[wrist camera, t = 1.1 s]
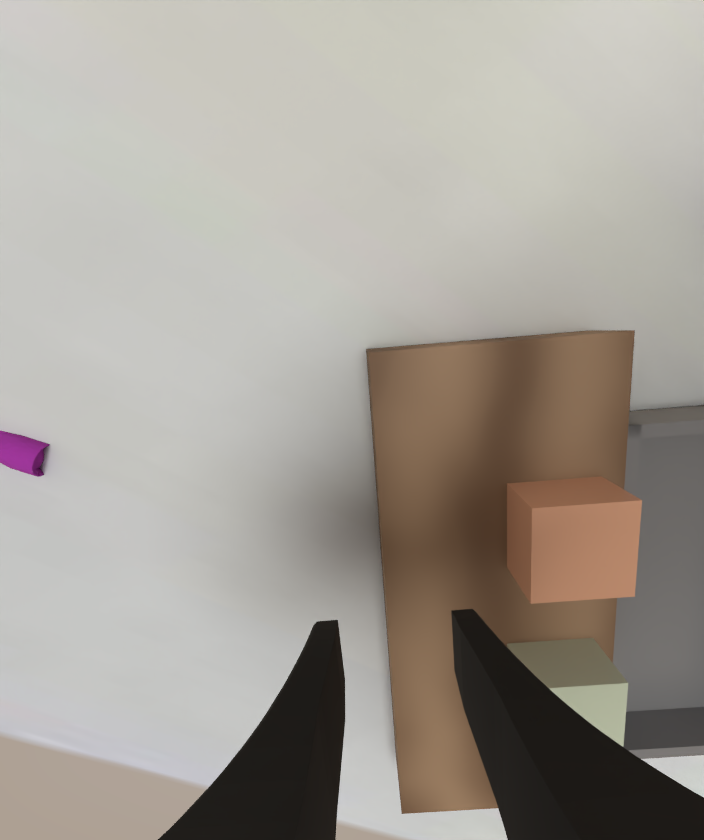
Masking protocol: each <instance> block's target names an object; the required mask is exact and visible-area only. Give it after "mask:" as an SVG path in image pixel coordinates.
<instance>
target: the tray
mask: <svg viewBox="0 0 704 840" xmlns="http://www.w3.org/2000/svg"><path fill="white" fill-rule="evenodd" d="M624 490H626V491H627V492H629V493H631V494H632V495H634V496H636V497H637V498H639V499H641V500H642V509H641V522H640V535H639V548H638V561H637V574H636V588H635V597H622V598H617V607H616V623H615V638H614V653H613V664H614V665H615V667H616V668H617V669H618V671H619V672H620V673H621V674H622V676H623V677H624V678H625V679H626V681H627V682H628V693H627V706H626V719H625V733H624V746H623V747H624V748H625V749H627V750H628V751H630V752H631V753H632V754H634V755H635V756H637V757H638V758H640V759H645V758H662V757H678V756H695V755H704V405H701V406H688V407H675V408H663V409H650V410H637V411H629V424H628V439H627V454H626V470H625V485H624Z"/></svg>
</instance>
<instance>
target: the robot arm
mask: <svg viewBox="0 0 704 840" xmlns="http://www.w3.org/2000/svg"><path fill="white" fill-rule="evenodd" d="M451 615H452V634H453V653H454V671H455V675H456V679H457V683H458V687H459V692H460V696H461V700H462V704H463V708H464V711H465V714H466V717H467V720H468V723H469V725H470V728H471V731H472V734H473V737H474V740H475V743H476V746H477V748H478V751H479V754H480V757H481V760H482V763H483V765H484V768H485V771H486V774H487V777H488V780H489V782H490V785H491V788H492V791H493V794H494V797H495V799H496V802H497V805H498V808H499V812H500V815H501V818H502V821H503V824H504V827H505V831H506V835H507V838H508V840H704V798H703V797H702V796H700V795H698V794H696V793H694V792H693V791H691V790H689V789H687V788H686V787H684V786H683V785H681V784H679V783H678V782H676V781H674V780H673V779H671V778H670V777H668V776H666V775H665V774H663V773H662V772H660V771H658V770H657V769H655V768H653V767H652V766H650V765H649V764H647V763H646V762H644V761H643V760H641V759H640V758H638V757H637V756H635V755H634V754H632V753H631V752H630V751H628V750H627V749H625V748H624V747H622V746H621V745H620V744H618V743H617V742H615V741H614V740H612V739H611V738H610V737H608V736H607V735H605V734H604V733H603V732H601V731H600V730H599V729H597V728H596V727H595V726H593V725H592V724H591V723H589V722H588V721H587V720H585V719H584V718H583V717H582V716H581V715H579V714H578V713H577V712H576V711H574V710H573V709H572V708H571V707H570V706H568V705H567V704H566V703H565V702H564V701H562V700H561V699H560V698H559V697H558V696H557V695H556V694H555V693H553V692H552V691H551V690H550V689H549V688H548V687H547V686H546V685H545V684H544V683H543V682H541V681H540V680H539V679H538V678H537V677H536V676H535V675H534V674H533V673H532V672H531V671H530V670H529V669H528V668H527V667H526V666H525V665H524V664H523V663H522V662H521V661H520V660H519V659H518V658H517V657H516V656H515V655H514V654H513V653H512V652H511V651H510V650H509V649H508V648H507V647H506V645H505V644H504V643H503V642H502V641H501V640H500V639H499V638H498V637H497V636H496V634H495V633H494V632H493V631H492V630H491V629H490V628H489V626H488V625H487V624H486V623H485V622H484V621H483V619H482V618H481V617H480V616H479V615H478V613H477V612H476V611H475V610H473V609H463V610H451ZM344 726H345V677H344V668H343V660H342V652H341V644H340V636H339V627H338V620H331V621H320V622H316V623H315V624H314V625H313V628H312V631H311V633H310V635H309V638H308V640H307V642H306V644H305V646H304V648H303V650H302V652H301V654H300V656H299V658H298V660H297V662H296V664H295V666H294V668H293V670H292V671H291V673H290V675H289V677H288V679H287V681H286V682H285V684H284V686H283V687H282V689H281V691H280V692H279V694H278V696H277V697H276V699H275V700H274V702H273V704H272V705H271V707H270V709H269V710H268V712H267V713H266V715H265V716H264V718H263V719H262V721H261V722H260V724H259V725H258V726H257V728H256V729H255V731H254V732H253V733H252V735H251V736H250V737H249V739H248V740H247V742H246V743H245V744H244V746H243V747H242V748H241V749H240V751H239V752H238V753H237V754H236V756H235V757H234V758H233V759H232V761H231V762H230V763H229V764H228V766H227V767H226V768H225V769H224V771H223V772H222V773H221V774H220V775H219V776H218V778H217V779H216V780H215V781H214V782H213V783H212V785H211V786H210V787H209V788H208V789H207V790H206V791H205V792H204V793H203V794H202V795H201V796H200V797H199V799H198V800H197V801H196V802H195V803H194V804H193V805H192V806H191V807H190V808H189V809H188V810H187V812H185V814H184V815H183V816H182V817H181V818H180V819H179V820H178V821H177V822H176V823H175V824H174V825H173V826H172V827H171V828H170V829H169V830H168V831H167V832H166V833H165V834H163V836H161V837H160V838H159V839H158V840H335V835H336V818H337V805H338V794H339V783H340V772H341V760H342V749H343V737H344Z"/></svg>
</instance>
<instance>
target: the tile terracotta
mask: <svg viewBox="0 0 704 840" xmlns="http://www.w3.org/2000/svg"><path fill="white" fill-rule="evenodd" d="M641 509H642V500H641V499H639V498H637V497H636V496H634V495H632V494H631V493H629V492H627V491H626V490H624V489H622V488H620V487H619V486H617V485H615V484H614V483H612V482H610V481H609V480H607V479H605V478H603V477H602V476H599V477H586V478H573V479H560V480H546V481H533V482H520V483H507V568H508V570H509V571H510V573H511V574H512V576H513V577H514V579H515V580H516V582H517V583H518V585H519V586H520V588H521V590H522V591H523V593H524V594H525V596H526V597H527V599H528V600H529V602H530V603H531V604H535V603H550V602H564V601H579V600H593V599H608V598H622V597H635V588H636V574H637V561H638V548H639V535H640V522H641Z"/></svg>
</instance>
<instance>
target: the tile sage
mask: <svg viewBox="0 0 704 840" xmlns="http://www.w3.org/2000/svg"><path fill="white" fill-rule="evenodd" d="M507 648H508V649H509V650H510V651H511V652H512V653H513V654H514V655H515V656H516V657H517V658H518V659H519V660H520V661H521V662H522V663H523V664H524V665H525V666H526V667H527V668H528V669H529V670H530V671H531V672H532V673H533V674H534V675H535V676H536V677H537V678H538V679H539V680H540V681H541V682H543V683H544V684H545V685H546V686H547V687H548V688H549V689H550V690H551V691H552V692H553V693H555V694H556V695H557V696H558V697H559V698H560V699H561V700H562V701H564V702H565V703H566V704H567V705H568V706H570V707H571V708H572V709H573V710H574V711H576V712H577V713H578V714H579V715H581V716H582V717H583V718H584V719H585V720H587V721H588V722H589V723H591V724H592V725H593V726H595V727H596V728H597V729H599V730H600V731H601V732H603V733H604V734H605V735H607V736H608V737H610V738H611V739H612V740H614V741H615V742H617V743H618V744H620V745H621V746H622V747H623V746H624V733H625V719H626V706H627V693H628V682H627V681H626V679H625V678H624V677H623V676H622V674H621V673H620V672H619V671H618V669H617V668H616V667H615V665H614V664H613V663H612V662H611V660H610V659H609V658H608V656H607V655H606V654H605V653H604V651H603V650H602V649H601V647H600V646H599V645H598V644H597V642H596V641H595V640H594V638H583V639H568V640H553V641H538V642H523V643H508V644H507Z"/></svg>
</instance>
